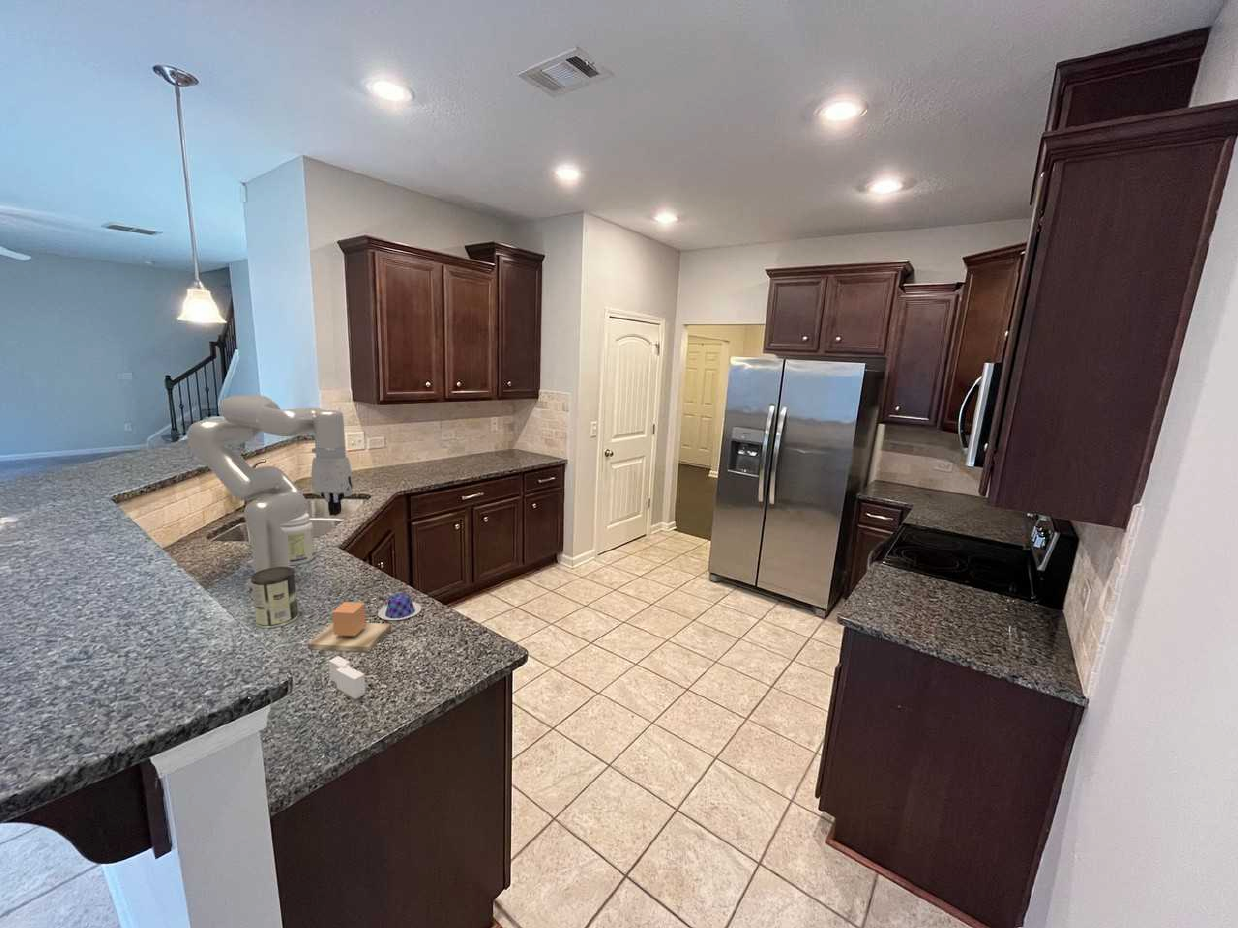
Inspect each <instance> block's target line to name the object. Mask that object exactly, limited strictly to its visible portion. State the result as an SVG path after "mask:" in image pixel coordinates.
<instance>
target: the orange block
mask: <svg viewBox="0 0 1238 928" xmlns="http://www.w3.org/2000/svg"><path fill="white" fill-rule="evenodd" d="M366 618H367V617H366V604H365V603H364V602H347V601H345V602H343V603H341V604H340V605H339V606H337V608H335V609H334V610H333V611H332V623H333V627H334V635H343V636H356V635H357V634H358V633H359V632H360V631H361V630H362V629H363V628H364V627H365V626H366V623H367V621H366V620H367V619H366Z"/></svg>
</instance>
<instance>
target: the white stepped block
mask: <svg viewBox="0 0 1238 928" xmlns="http://www.w3.org/2000/svg"><path fill="white" fill-rule="evenodd" d="M328 669H329V672H328V673H329V680H330V681H331V682H334V683H335V684H336V689H337V690H339V691H341V692H342V693H344V694H346V695H348V696H349V697H352V698H354V699H356V700H357V699H358V698H359V697H361V696H363V695H365V694H366V684H365V683H366V680H365V678H366V677H365V673H363V672H362V671H359V670H358V669H355V668H354V667H351V661H349V660H347V659H345V658H343V657H341V656H339V655H337V656H336V657H334V658H332V659H329V660H328Z"/></svg>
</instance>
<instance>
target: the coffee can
mask: <svg viewBox="0 0 1238 928" xmlns="http://www.w3.org/2000/svg"><path fill="white" fill-rule="evenodd" d="M249 579H251V582H252V587H251V590H252V591H253V599H254V600H253V599H252V600H253V608H254V615H255V625H256V627H258V628H261V629H273V628H278V627H279V628H280V627H284V626H286V625H289V624H291V623H292V622H294V621H295V620H297V619H298V617H299V611H298V601H297V592H296V588H295V583H296V580H295V569H294V568H293V567H291V568H290V567H274V568H268V569H265V570H261V571H259V572H256V573H254V572H253V574H252V575H251V576H250V578H249ZM252 591H251V592H252Z"/></svg>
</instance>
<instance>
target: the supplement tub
mask: <svg viewBox="0 0 1238 928" xmlns="http://www.w3.org/2000/svg"><path fill="white" fill-rule="evenodd" d="M310 520H311V518H310V514H309V513H307V512H306V513H305V514H304V515H303V516H302V517H300V518H297V519H294V520H291V521H288V522H285V523H283V524H280V527H281V529H282V530H283V531H284V532H285V533H286V535H287V537H288V543H289V554H290V565H291V566H297V565H302V564H306V563H309V562H311V561H312V560H314V559H315V557H316V548H315V538H314V537H315V536H314V524H313V522H312V521H310Z"/></svg>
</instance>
